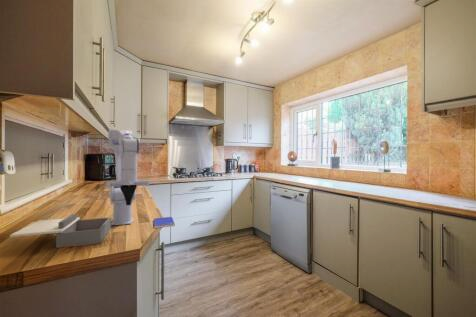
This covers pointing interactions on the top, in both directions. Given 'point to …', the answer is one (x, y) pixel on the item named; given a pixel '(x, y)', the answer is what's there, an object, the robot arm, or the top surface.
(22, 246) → the top surface
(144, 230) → the top surface
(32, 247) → the top surface
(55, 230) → the mailer lid
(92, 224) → the box
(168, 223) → the hard drive
